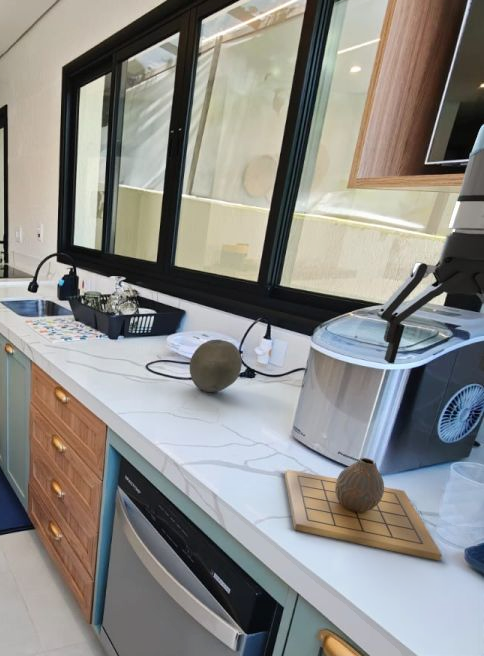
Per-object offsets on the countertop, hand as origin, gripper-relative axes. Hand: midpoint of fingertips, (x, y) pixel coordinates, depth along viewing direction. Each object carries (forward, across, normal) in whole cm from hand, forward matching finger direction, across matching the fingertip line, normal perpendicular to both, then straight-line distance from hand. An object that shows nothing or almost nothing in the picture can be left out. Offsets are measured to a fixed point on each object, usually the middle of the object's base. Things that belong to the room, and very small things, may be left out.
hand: (435, 366), depth 85 cm
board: (+25, -9, -10) cm, 28 cm away
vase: (+24, -9, -10) cm, 27 cm away
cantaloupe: (+24, -33, +46) cm, 62 cm away
